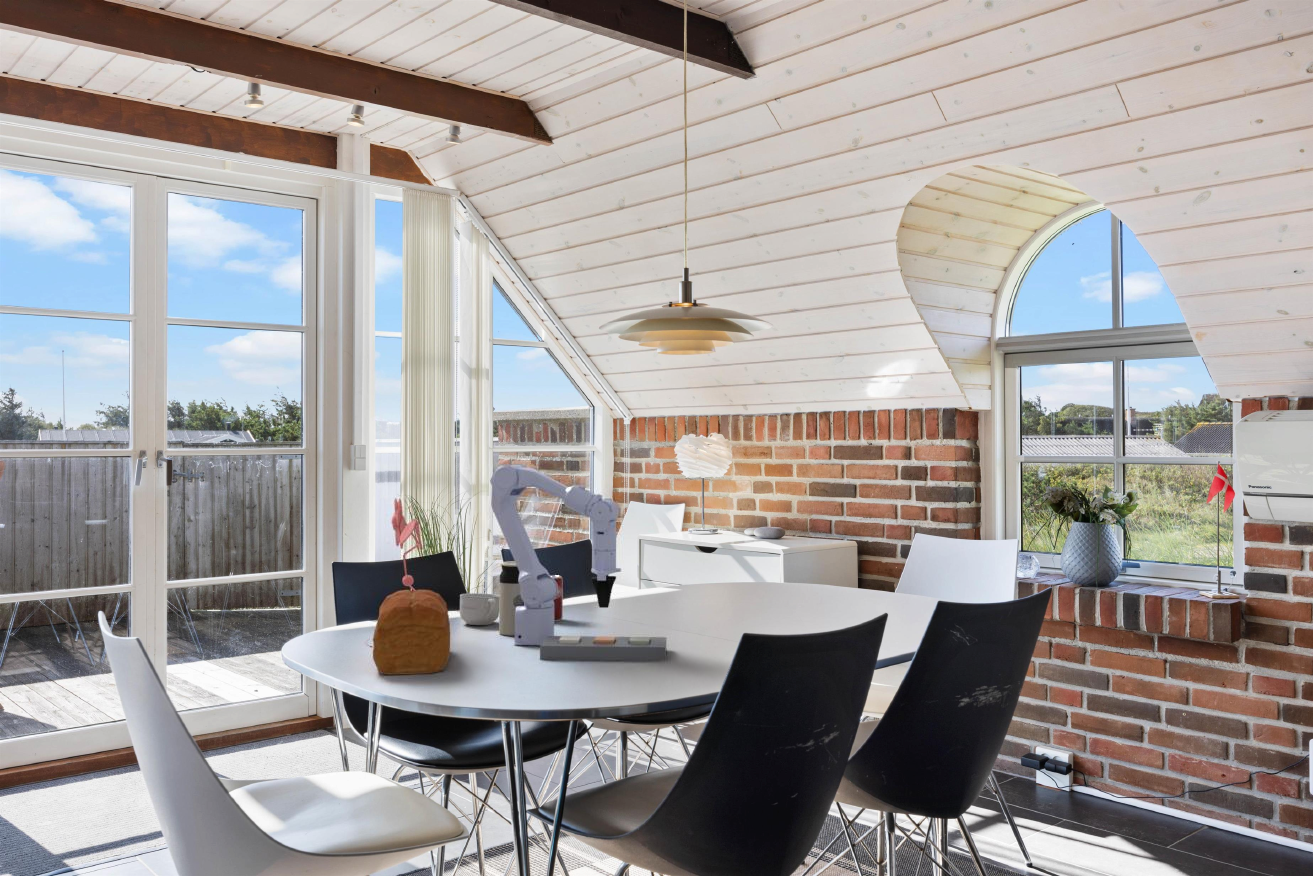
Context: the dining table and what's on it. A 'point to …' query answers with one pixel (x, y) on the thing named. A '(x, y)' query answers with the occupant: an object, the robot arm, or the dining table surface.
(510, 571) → the travel mug
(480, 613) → the teacup
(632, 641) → the sage button
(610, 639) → the rust button
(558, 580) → the soda can
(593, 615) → the dining table surface
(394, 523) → the figurine
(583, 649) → the button panel
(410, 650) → the bread
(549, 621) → the robot arm
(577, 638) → the cream button
